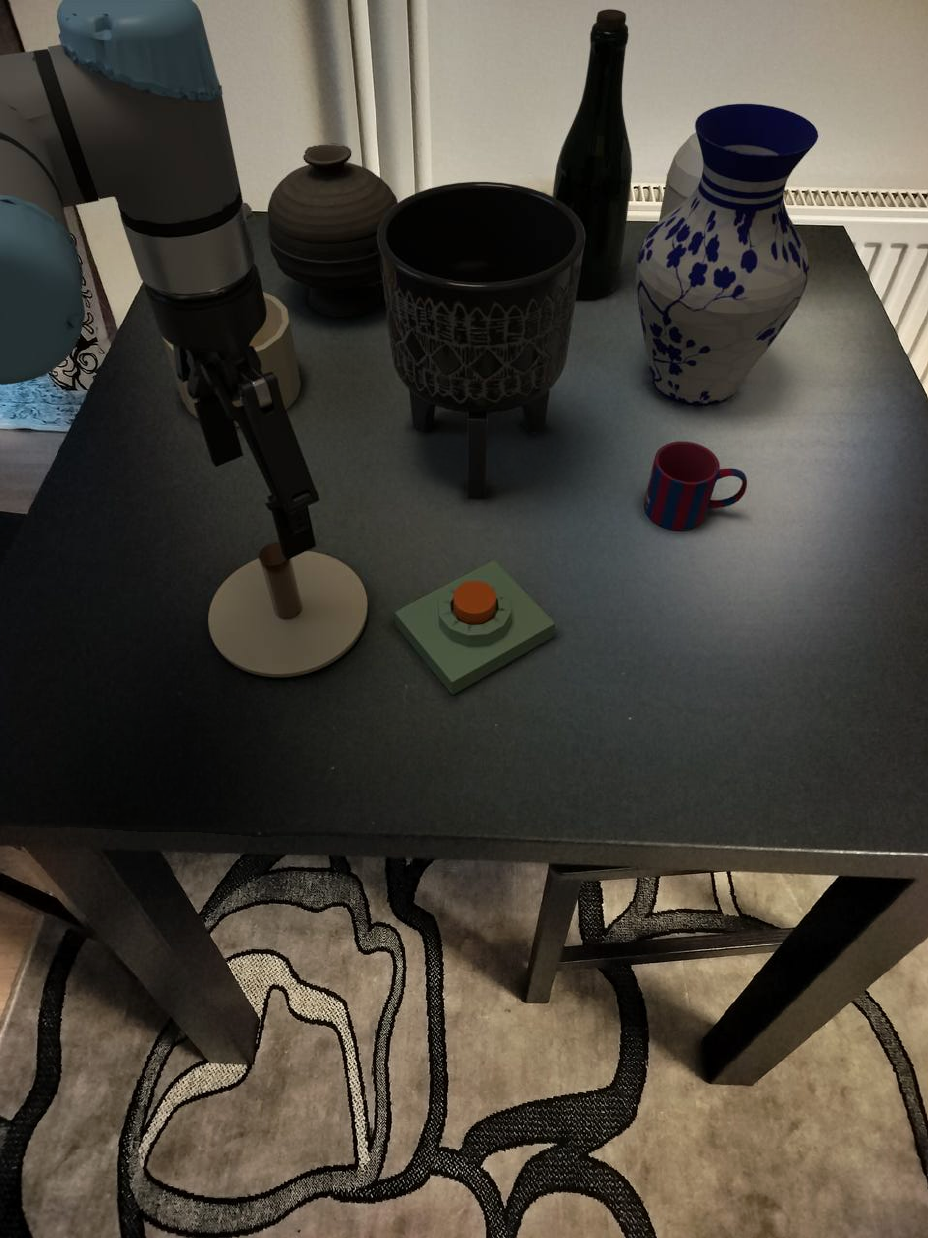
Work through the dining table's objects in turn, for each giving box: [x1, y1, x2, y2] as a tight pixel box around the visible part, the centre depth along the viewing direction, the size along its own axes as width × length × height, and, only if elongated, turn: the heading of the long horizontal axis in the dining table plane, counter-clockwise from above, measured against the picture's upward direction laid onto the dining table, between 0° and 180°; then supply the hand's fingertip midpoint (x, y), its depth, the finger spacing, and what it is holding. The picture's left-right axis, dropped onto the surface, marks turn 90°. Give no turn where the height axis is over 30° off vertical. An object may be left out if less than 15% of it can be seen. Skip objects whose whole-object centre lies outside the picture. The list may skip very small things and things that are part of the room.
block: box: [394, 559, 556, 696], centre depth 83 cm, size 12×10×4 cm
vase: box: [635, 103, 819, 408], centre depth 97 cm, size 19×19×30 cm
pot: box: [266, 142, 399, 318], centre depth 113 cm, size 18×18×20 cm
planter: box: [377, 181, 586, 500], centre depth 91 cm, size 20×20×26 cm
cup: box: [643, 441, 748, 531], centre depth 92 cm, size 7×10×7 cm
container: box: [658, 132, 703, 222], centre depth 117 cm, size 13×13×20 cm
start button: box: [453, 581, 496, 625], centre depth 81 cm, size 4×4×2 cm
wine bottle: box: [552, 8, 633, 300], centre depth 110 cm, size 10×10×33 cm
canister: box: [161, 291, 302, 428], centre depth 104 cm, size 15×15×10 cm
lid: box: [207, 542, 369, 678], centre depth 82 cm, size 16×16×9 cm
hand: (262, 502), depth 74 cm, fingers open, 13 cm apart
